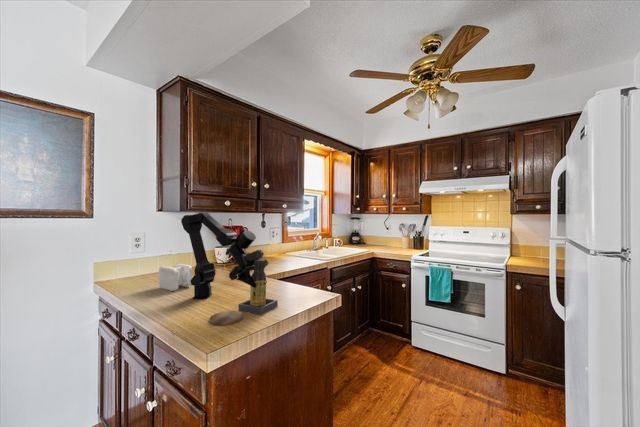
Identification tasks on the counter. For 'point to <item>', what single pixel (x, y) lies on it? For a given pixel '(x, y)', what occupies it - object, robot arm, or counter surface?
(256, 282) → the sauce bottle
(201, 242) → the robot arm
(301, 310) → the counter surface
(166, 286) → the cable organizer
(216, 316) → the coaster
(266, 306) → the dark grey square tray
